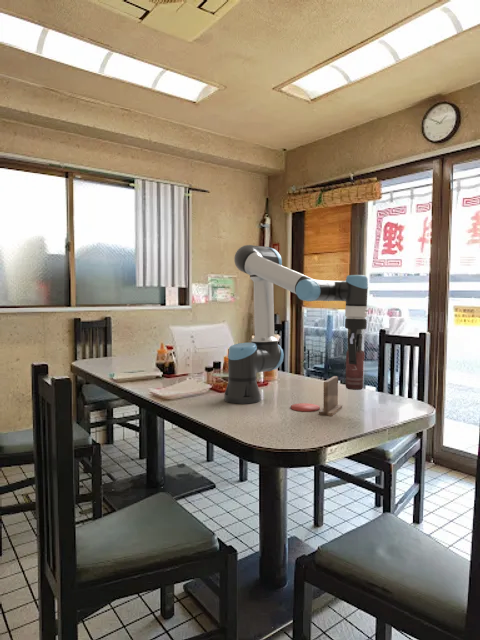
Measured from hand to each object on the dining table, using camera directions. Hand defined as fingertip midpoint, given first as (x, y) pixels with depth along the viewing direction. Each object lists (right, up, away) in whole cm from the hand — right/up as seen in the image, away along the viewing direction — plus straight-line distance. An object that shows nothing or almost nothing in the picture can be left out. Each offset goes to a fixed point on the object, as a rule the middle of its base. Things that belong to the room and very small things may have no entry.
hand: (353, 382), depth 162 cm
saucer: (-17, -11, +9) cm, 22 cm away
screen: (-8, -11, +4) cm, 14 cm away
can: (0, -2, 0) cm, 2 cm away
